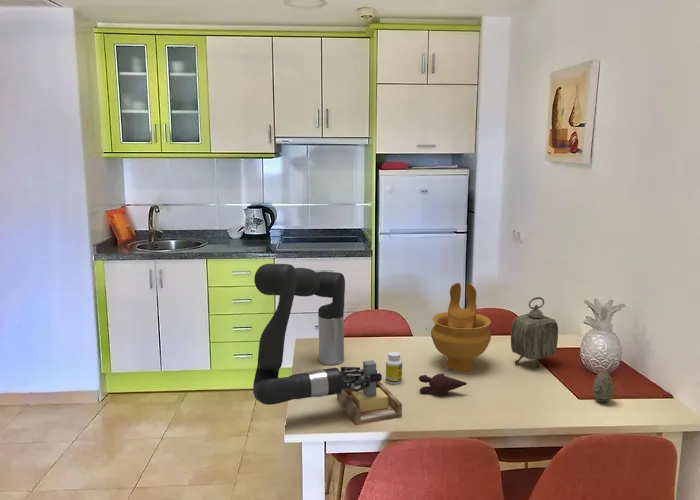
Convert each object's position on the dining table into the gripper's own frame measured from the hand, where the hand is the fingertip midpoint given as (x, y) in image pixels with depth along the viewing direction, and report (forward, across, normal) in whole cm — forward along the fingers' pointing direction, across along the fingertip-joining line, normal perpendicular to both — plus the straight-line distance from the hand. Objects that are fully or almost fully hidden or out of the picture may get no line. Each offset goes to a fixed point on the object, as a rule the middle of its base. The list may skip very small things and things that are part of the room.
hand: (378, 374), depth 170 cm
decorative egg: (+66, -20, +11) cm, 70 cm away
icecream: (+23, +2, +11) cm, 25 cm away
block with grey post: (-3, 0, +9) cm, 10 cm away
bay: (-3, +1, +10) cm, 11 cm away
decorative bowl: (+40, +21, +11) cm, 47 cm away
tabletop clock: (+65, +12, +11) cm, 67 cm away
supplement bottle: (+12, +16, +11) cm, 23 cm away
